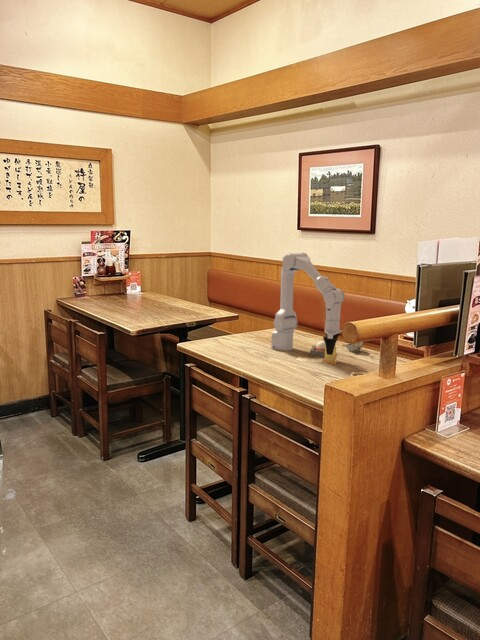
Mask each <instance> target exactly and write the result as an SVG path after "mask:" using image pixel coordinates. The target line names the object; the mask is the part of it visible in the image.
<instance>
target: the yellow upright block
mask: <svg viewBox="0 0 480 640" xmlns="http://www.w3.org/2000/svg"><path fill="white" fill-rule="evenodd" d="M336 353H337V346H336V345H335V346H334V350H333V354H332V355H328V354H327V352H326V346H325V357H323V358H324V359H323V362H326V363H325V364H330V363H335V361H336V355H337V354H336Z"/></svg>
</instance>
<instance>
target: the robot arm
mask: <svg viewBox="0 0 480 640" xmlns="http://www.w3.org/2000/svg"><path fill="white" fill-rule="evenodd" d="M281 265H282V267H281V270H280V271H281V272H280V301H279V303H280V304H279V305H280V306H279V307H280V309H279V310H278V311H277V312H276V313H275V316H274V319H273V326H274V327H273V328H274V330H272V332H271V344H270V345H271V347H270V348H271V350H277V351H278V350H279V351H291V350H293V347H294V332H295V329H296V328H297V327H298V319H297V313H296V311H294V308H293V307H294V280H295V279H294V278H295V277H294V276H295V274H296V273H297V272H298V271H299V270H302V271H304V272H305V273H306V274H307V275H308V276H309V277H310V278H311V279H312V281H314V286H315V288H317V289H318V291H319V292H320V294H321V295H322V296H323V301H324V303H325V323H324V330H323V331H324V333H325V335H326V336H323V341H324V342H325V345H326V352H327V354H328V355H332V354H333V350H334V346H336V343H337V342H338V340H339V339H338V338H339V335H340V334H342V333H343V330H341V329H340V323H341V322H340V321H341V311H342V310H341V308H342V303H343V302H344V301H345V299H346V298H345V297H346V296H345V293H344V291H343V290H342V289H340V288H337V287H336V285H334V284H333V283H332V282H331V281H330V278H329V277H328V276H326V275H321V274H320V272H319V271H318V269H317V268H316V267H315V265H314V264H313V262H311V257H310V256H309V255H308V254H307V253H305V252H297V253H296V252H293V253H292V252H291V253H290V252H288V253H286V254H285V255H284V256H283V257H282V264H281ZM341 332H342V333H341Z"/></svg>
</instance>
